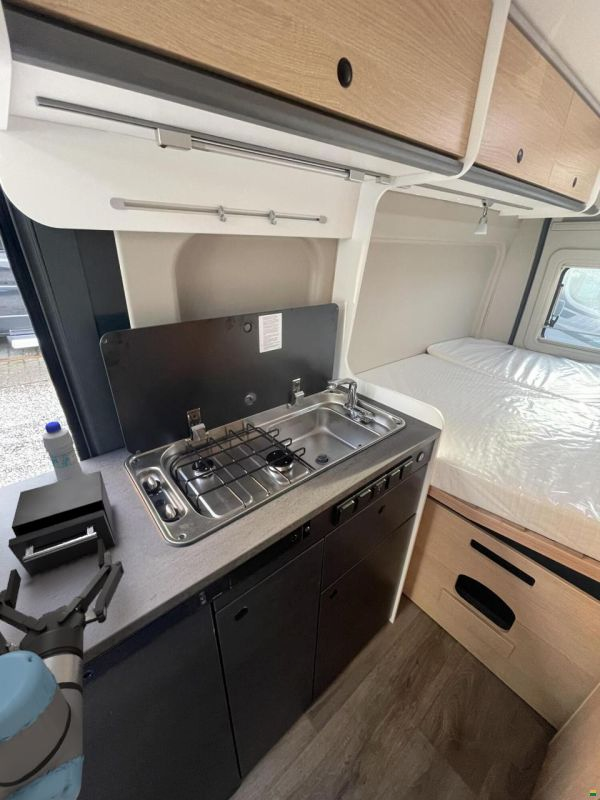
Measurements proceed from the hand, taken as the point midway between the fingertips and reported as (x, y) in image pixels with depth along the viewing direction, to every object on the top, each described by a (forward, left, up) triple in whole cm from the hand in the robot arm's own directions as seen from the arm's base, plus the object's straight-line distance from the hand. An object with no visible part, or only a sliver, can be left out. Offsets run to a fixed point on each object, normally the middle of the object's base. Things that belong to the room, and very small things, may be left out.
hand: (60, 558), depth 63 cm
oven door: (-4, +6, -10) cm, 12 cm away
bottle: (-22, +35, -10) cm, 42 cm away
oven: (-8, +14, -10) cm, 19 cm away
